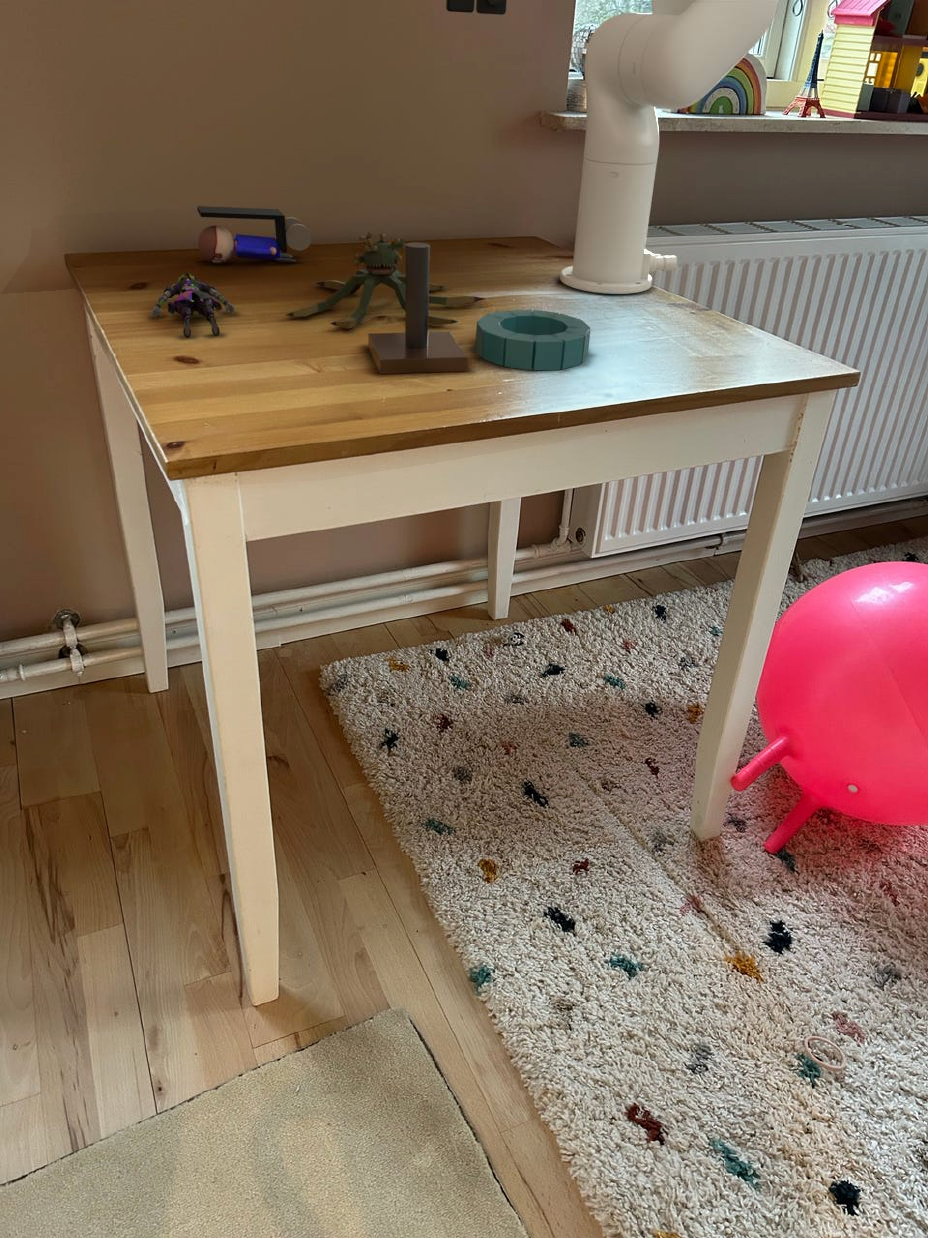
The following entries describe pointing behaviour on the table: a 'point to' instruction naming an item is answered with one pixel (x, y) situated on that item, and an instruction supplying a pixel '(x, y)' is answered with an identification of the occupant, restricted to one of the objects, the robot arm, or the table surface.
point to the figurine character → (221, 244)
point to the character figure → (192, 302)
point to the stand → (416, 328)
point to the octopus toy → (378, 270)
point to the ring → (532, 339)
